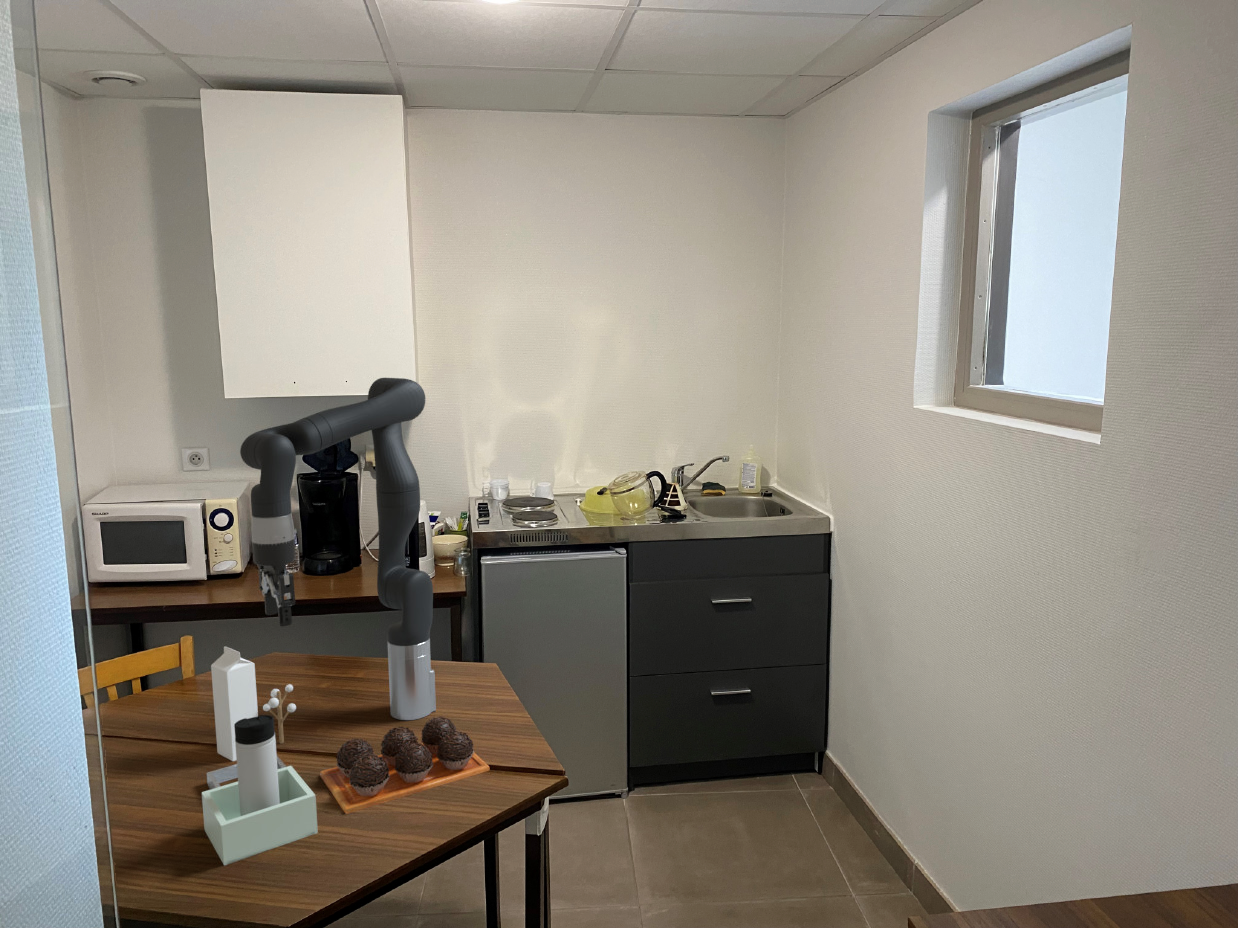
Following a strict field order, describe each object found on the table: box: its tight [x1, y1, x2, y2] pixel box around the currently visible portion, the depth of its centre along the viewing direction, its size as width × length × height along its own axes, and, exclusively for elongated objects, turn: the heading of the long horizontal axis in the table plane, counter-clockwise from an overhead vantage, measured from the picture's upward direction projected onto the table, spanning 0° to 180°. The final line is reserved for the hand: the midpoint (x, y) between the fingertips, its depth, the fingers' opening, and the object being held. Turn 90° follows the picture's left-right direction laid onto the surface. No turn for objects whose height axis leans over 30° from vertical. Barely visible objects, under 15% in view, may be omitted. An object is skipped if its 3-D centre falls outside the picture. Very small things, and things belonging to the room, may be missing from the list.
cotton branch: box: [262, 683, 297, 744], centre depth 181 cm, size 7×6×12 cm
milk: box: [210, 646, 259, 762], centre depth 176 cm, size 6×6×22 cm
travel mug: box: [234, 714, 280, 816], centre depth 147 cm, size 6×7×20 cm
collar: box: [206, 755, 287, 790], centre depth 164 cm, size 13×12×2 cm
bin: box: [201, 765, 319, 866], centre depth 148 cm, size 15×13×7 cm
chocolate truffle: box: [319, 716, 490, 815], centre depth 168 cm, size 28×17×8 cm, turn 124°
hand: (278, 619), depth 167 cm, fingers open, 8 cm apart
